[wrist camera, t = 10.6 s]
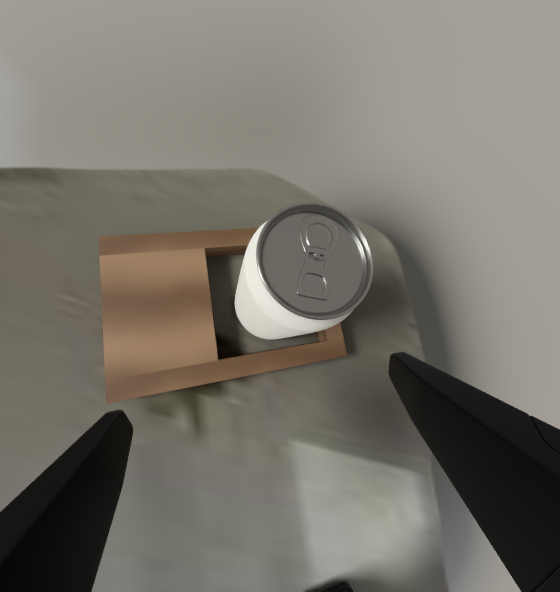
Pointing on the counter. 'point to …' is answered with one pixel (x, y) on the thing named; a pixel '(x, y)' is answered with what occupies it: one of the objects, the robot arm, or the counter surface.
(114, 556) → the counter surface
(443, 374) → the robot arm
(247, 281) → the can
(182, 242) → the wooden tray frame
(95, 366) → the counter surface
